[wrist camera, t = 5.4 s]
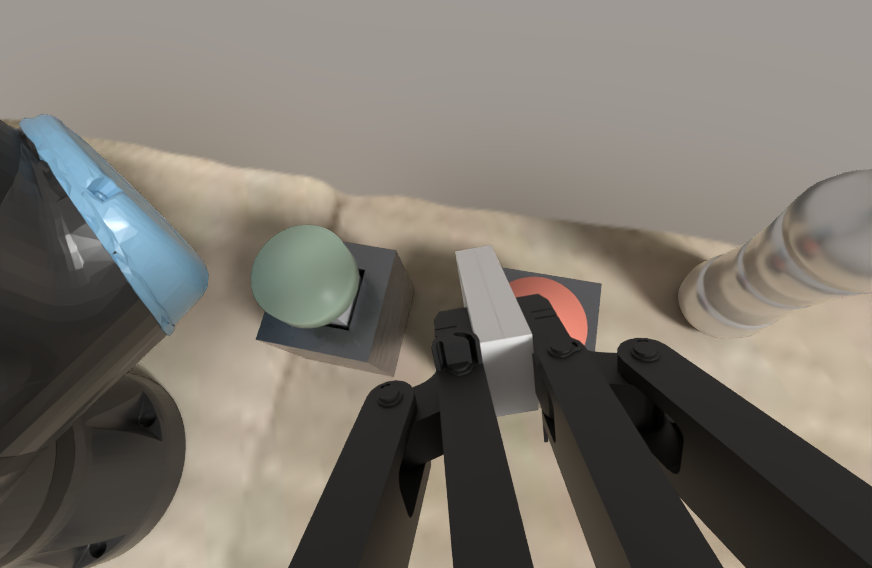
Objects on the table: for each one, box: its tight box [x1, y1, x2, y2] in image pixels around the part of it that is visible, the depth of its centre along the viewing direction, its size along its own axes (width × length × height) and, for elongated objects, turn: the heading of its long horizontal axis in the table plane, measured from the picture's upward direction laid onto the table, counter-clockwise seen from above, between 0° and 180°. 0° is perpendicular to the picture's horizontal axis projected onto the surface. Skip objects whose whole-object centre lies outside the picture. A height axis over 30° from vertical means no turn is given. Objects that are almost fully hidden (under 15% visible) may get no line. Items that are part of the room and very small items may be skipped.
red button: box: [509, 277, 588, 345], centre depth 30 cm, size 6×6×10 cm
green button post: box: [256, 242, 414, 377], centre depth 34 cm, size 8×8×9 cm
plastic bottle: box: [678, 169, 872, 338], centre depth 26 cm, size 6×7×20 cm
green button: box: [251, 225, 363, 331], centre depth 29 cm, size 6×6×10 cm
